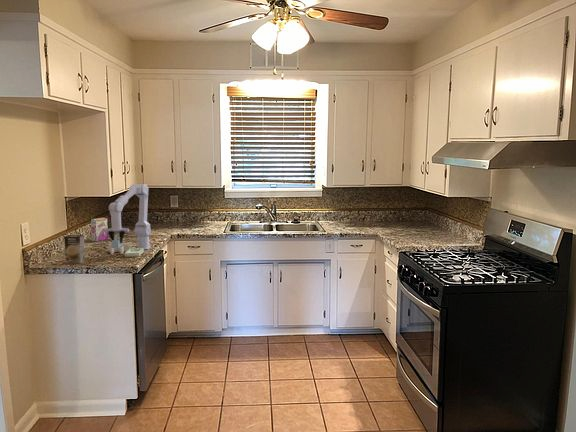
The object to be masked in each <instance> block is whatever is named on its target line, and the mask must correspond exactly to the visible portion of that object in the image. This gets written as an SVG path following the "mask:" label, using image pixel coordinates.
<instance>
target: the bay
mask: <svg viewBox="0 0 576 432" xmlns="http://www.w3.org/2000/svg"><path fill="white" fill-rule="evenodd" d="M107 246H108V252H109V253H110V254H111V255H112V254H114V253H116V252H118V253H119V254H120V255H121V254H124V253H125V252H127V251H128V250H129V249H130V248H131V244H130V242H129V243H126V242H125V243H123V242H122V246H120V247H119V248H112V246H111V243H108V245H107ZM124 251H125V252H124Z"/></svg>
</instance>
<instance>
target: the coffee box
mask: <svg viewBox="0 0 576 432" xmlns="http://www.w3.org/2000/svg"><path fill="white" fill-rule="evenodd" d="M64 252H65V264H83V263H85V261H86V260H85V259H86V256H85V254H86V252H85V236H84V234H68V235H66V236H64Z"/></svg>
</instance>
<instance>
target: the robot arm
mask: <svg viewBox="0 0 576 432" xmlns="http://www.w3.org/2000/svg"><path fill="white" fill-rule="evenodd" d="M134 195H135V196H137V197H138V198H139V204H138V205H139V206H138V208H139V210H138V221H137V222H136V223H135V227H134V230H133V231H134V234H135V235H136V236H137V248H144V250H149V249H150V248H151V247H152V246H151V245H150V237H149V236H150V235H151V232H152V228H151V223H149V222H148V205H149V204H148V202H149V187H148V185H147V184H146V183H145V184H144V183H143V184H142V183H141V184H140V183H139V184H138V183H132V184H131V185H130V186H129V189H128V191H126V193H124V194H123V195H120V196H119V197H118V198H117V199H116V200H114V202H111V203H110V204H109V205H108V211H109V213H110V216H111V220H110V221H111V227H110V228H108V229H104V232H108V237H110V239H111V241H112V240H114V239H115V233H118V235H119V238H120V243H123V240H124V237H125V234H126V233H129V232H130V228H127V227H122V211H123V210H124V209H123V208H124V207H125V206H126V204H128V203H129V199H130V198H132V197H133V196H134Z"/></svg>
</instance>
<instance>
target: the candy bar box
mask: <svg viewBox="0 0 576 432" xmlns="http://www.w3.org/2000/svg"><path fill="white" fill-rule="evenodd" d="M108 224H109V223H108V218H107V217H100V218H99V217H98V218H91V219H90V228H91V233H90V234H91V242H101V241H106V240H109V234H108V233H109V232H104V229H109V228H108Z"/></svg>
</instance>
